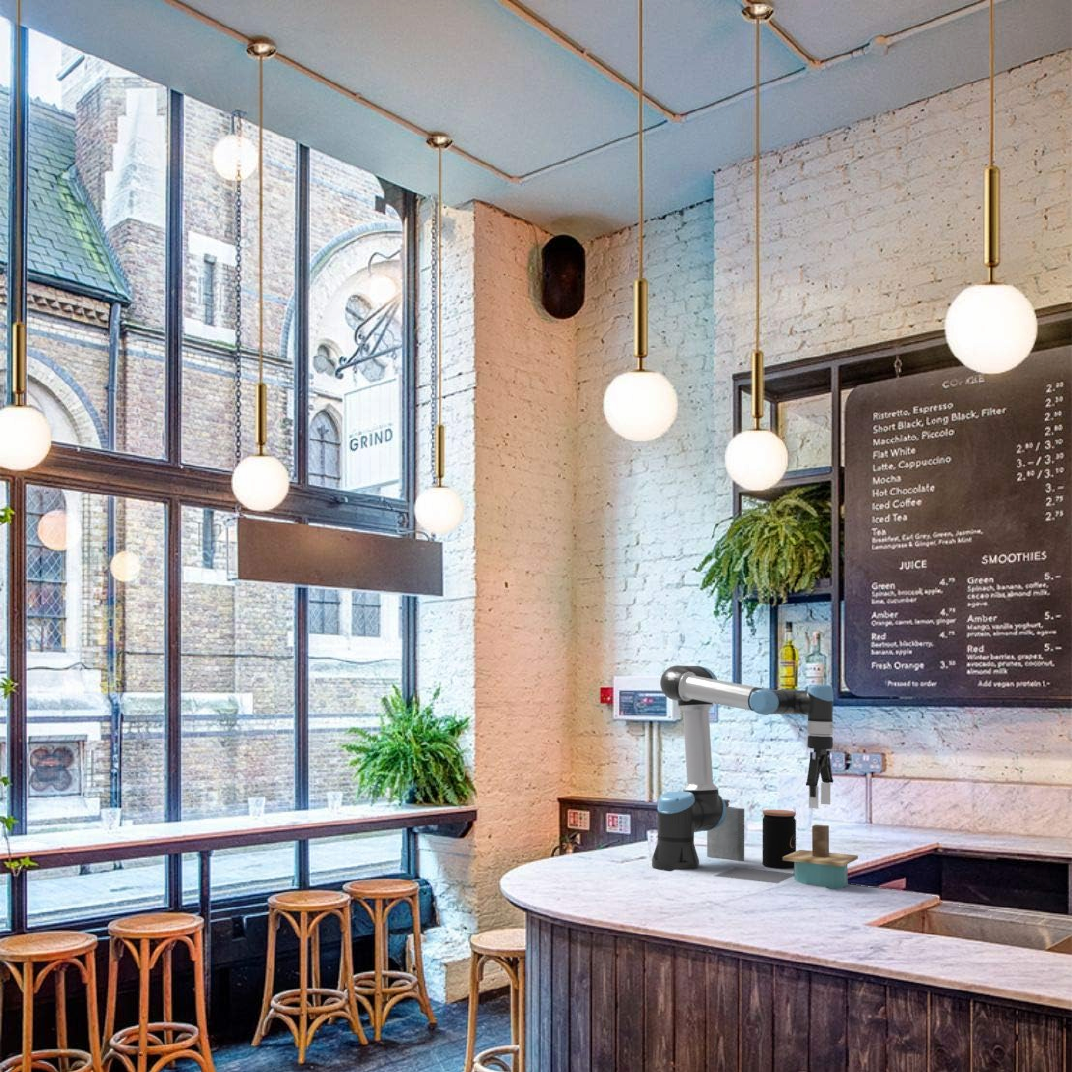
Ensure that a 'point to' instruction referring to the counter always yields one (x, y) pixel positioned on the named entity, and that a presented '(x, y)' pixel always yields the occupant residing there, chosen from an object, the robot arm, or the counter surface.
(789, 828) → the coffee jar
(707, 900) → the counter surface
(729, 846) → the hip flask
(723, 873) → the rubber mat
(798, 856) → the oak cover
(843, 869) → the teal bowl
